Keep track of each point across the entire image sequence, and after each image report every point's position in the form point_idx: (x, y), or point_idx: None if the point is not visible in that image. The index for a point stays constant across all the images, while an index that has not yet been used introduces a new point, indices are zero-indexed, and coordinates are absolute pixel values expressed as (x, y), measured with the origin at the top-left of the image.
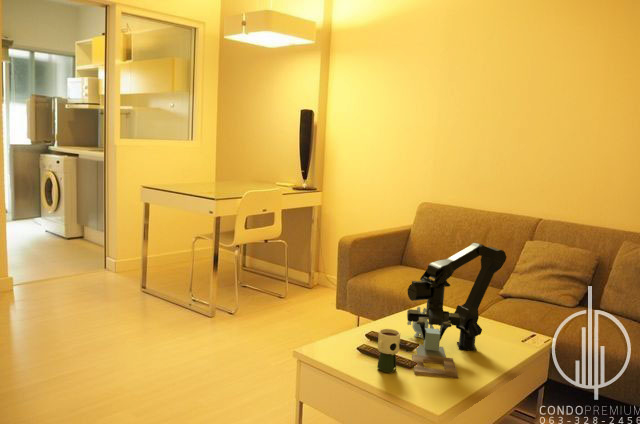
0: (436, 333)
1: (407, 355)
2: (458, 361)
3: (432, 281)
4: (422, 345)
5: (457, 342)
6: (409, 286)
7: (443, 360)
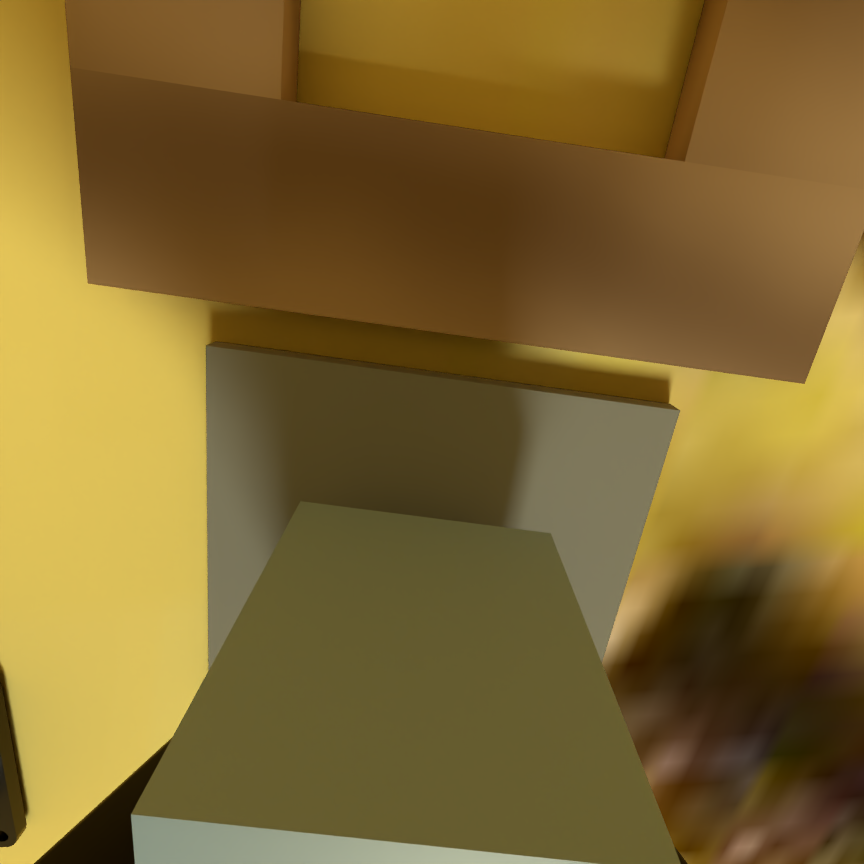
0: (280, 855)
1: (823, 419)
2: (16, 266)
3: None
4: None
5: (7, 831)
6: None
7: (277, 134)
